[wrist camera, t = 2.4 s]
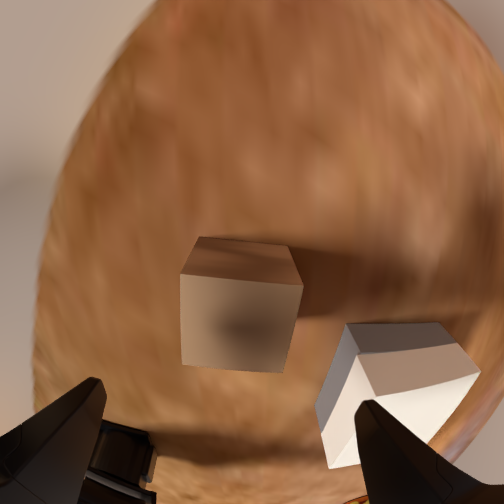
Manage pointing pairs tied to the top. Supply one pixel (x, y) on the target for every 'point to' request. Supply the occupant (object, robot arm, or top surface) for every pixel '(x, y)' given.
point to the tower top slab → (400, 394)
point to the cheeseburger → (359, 501)
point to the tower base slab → (370, 342)
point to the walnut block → (238, 305)
